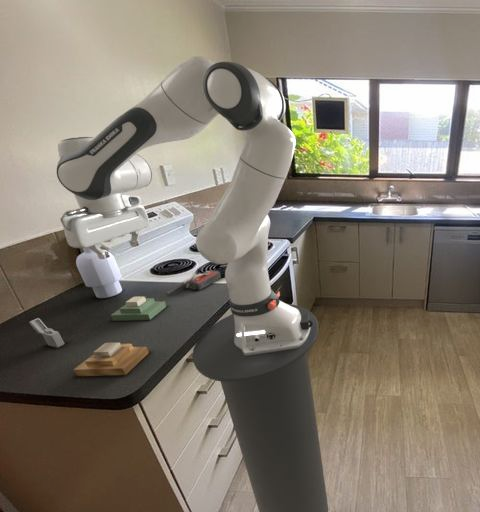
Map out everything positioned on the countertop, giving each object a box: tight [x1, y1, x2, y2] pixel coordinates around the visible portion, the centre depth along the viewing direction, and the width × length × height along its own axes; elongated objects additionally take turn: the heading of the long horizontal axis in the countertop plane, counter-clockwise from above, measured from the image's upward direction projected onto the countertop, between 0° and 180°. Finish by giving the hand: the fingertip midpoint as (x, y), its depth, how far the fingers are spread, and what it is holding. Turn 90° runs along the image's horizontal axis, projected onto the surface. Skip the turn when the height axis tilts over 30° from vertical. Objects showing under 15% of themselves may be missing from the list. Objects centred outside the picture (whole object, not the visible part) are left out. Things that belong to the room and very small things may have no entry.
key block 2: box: [73, 343, 149, 377], centre depth 75 cm, size 12×8×4 cm, turn 92°
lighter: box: [29, 317, 65, 349], centre depth 82 cm, size 7×2×8 cm, turn 75°
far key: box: [125, 295, 146, 307], centre depth 96 cm, size 4×4×2 cm
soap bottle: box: [75, 247, 123, 299], centre depth 105 cm, size 10×10×24 cm
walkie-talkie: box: [165, 269, 222, 296], centre depth 115 cm, size 9×4×20 cm
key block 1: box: [110, 297, 167, 322], centre depth 97 cm, size 12×8×4 cm, turn 92°
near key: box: [93, 342, 122, 358], centre depth 74 cm, size 4×4×2 cm
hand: (121, 251), depth 81 cm, fingers open, 8 cm apart
